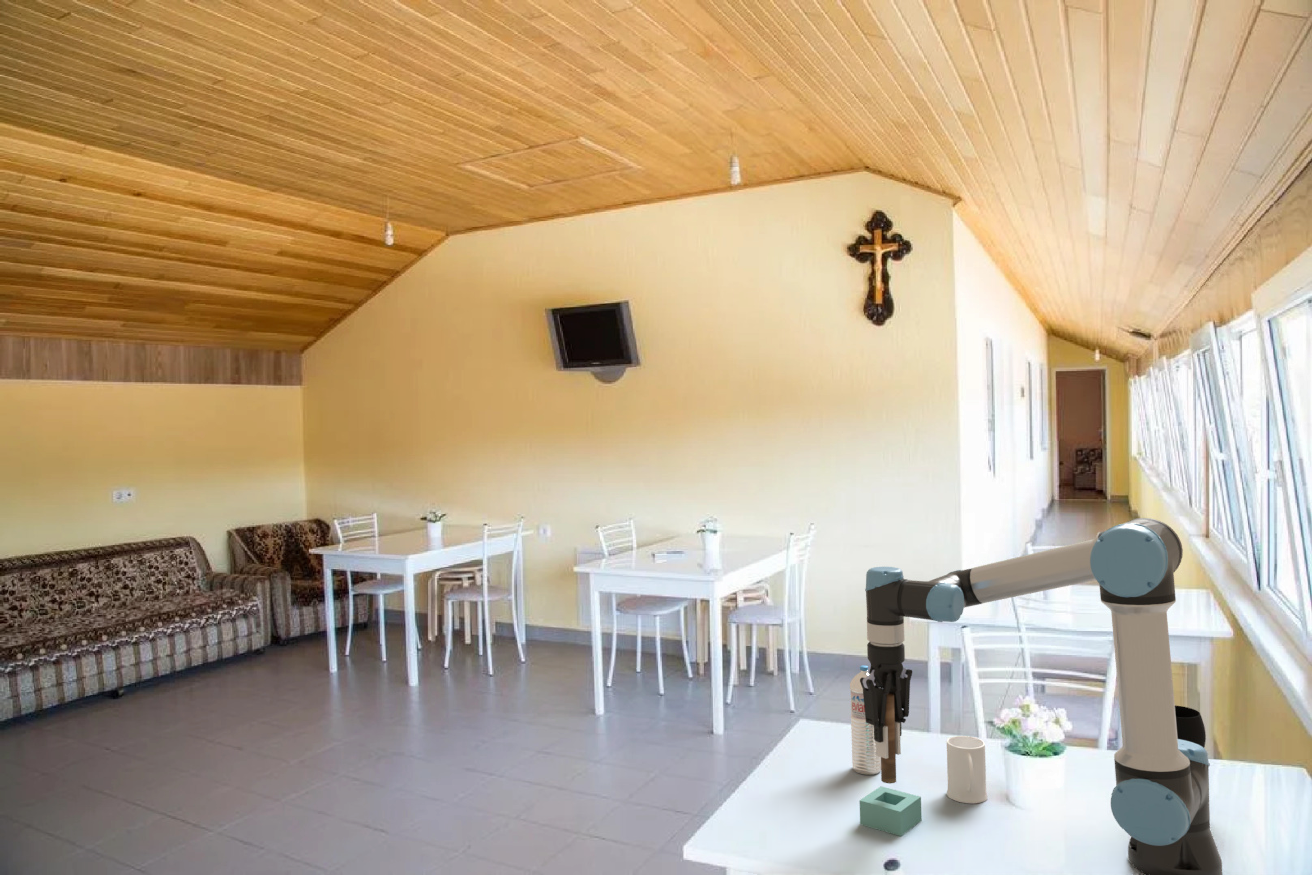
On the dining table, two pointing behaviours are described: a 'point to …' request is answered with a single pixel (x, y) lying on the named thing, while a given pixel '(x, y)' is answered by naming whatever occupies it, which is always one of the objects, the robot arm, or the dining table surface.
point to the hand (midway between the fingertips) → (888, 754)
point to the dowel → (889, 744)
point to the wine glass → (1190, 725)
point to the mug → (966, 769)
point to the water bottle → (862, 731)
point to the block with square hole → (890, 810)
